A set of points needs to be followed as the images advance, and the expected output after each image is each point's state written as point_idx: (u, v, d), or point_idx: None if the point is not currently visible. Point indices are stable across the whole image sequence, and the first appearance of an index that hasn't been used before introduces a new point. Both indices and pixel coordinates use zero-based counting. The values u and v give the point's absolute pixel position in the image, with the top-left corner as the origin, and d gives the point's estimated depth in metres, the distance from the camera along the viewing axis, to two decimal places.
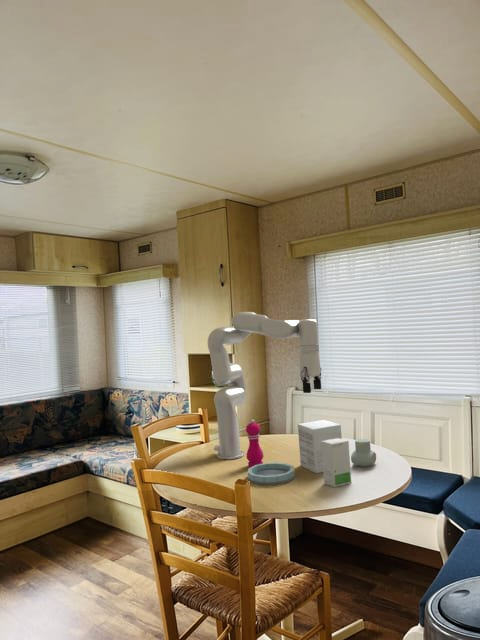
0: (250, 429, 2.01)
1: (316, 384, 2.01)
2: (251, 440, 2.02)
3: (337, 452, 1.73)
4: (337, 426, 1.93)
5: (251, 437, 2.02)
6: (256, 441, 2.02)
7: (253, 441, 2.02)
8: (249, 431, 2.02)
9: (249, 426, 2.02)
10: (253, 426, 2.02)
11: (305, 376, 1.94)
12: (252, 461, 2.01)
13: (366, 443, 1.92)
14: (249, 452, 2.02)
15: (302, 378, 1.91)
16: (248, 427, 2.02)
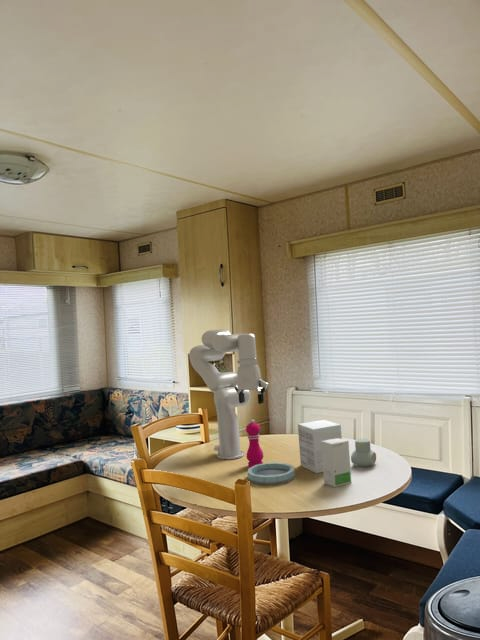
0: (250, 429, 2.01)
1: (242, 398, 2.06)
2: (251, 440, 2.02)
3: (337, 452, 1.73)
4: (337, 426, 1.93)
5: (251, 437, 2.02)
6: (256, 441, 2.02)
7: (253, 441, 2.02)
8: (249, 431, 2.02)
9: (249, 426, 2.02)
10: (253, 426, 2.02)
11: (259, 387, 2.01)
12: (252, 461, 2.01)
13: (366, 443, 1.92)
14: (249, 452, 2.02)
15: (265, 388, 2.00)
16: (248, 427, 2.02)
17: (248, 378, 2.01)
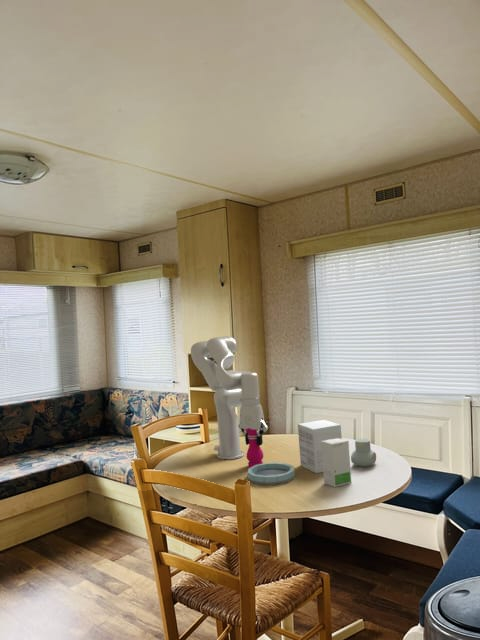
0: (250, 429, 2.01)
1: (248, 439, 2.05)
2: (251, 440, 2.02)
3: (337, 452, 1.73)
4: (337, 426, 1.93)
5: (251, 437, 2.02)
6: (256, 441, 2.02)
7: (253, 441, 2.02)
8: (249, 431, 2.02)
9: None
10: None
11: (259, 429, 2.02)
12: (252, 461, 2.01)
13: (366, 443, 1.92)
14: (249, 452, 2.02)
15: (264, 431, 2.01)
16: None
17: (251, 417, 2.01)
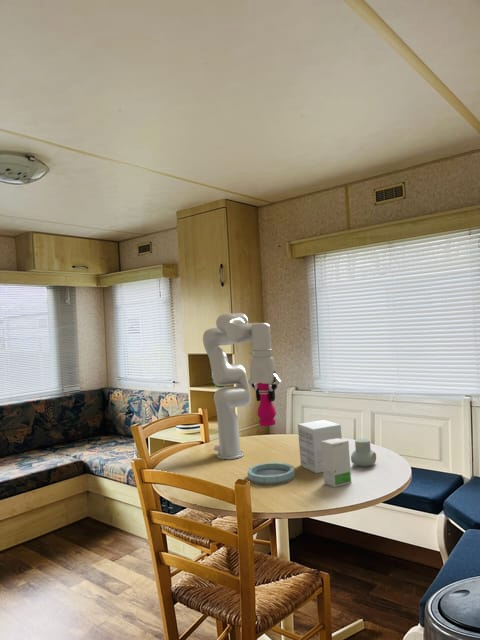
0: (262, 383, 1.85)
1: (259, 395, 1.89)
2: (263, 395, 1.86)
3: (337, 452, 1.73)
4: (337, 426, 1.93)
5: (263, 392, 1.86)
6: (268, 396, 1.86)
7: (265, 396, 1.86)
8: (260, 385, 1.86)
9: None
10: None
11: (271, 383, 1.86)
12: (264, 418, 1.85)
13: (366, 443, 1.92)
14: (260, 408, 1.86)
15: (277, 386, 1.85)
16: None
17: (262, 371, 1.85)
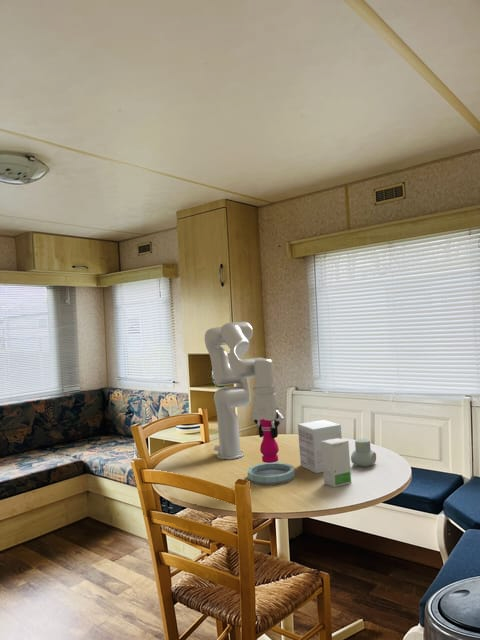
0: (264, 420, 1.85)
1: (262, 431, 1.89)
2: (265, 432, 1.86)
3: (337, 452, 1.73)
4: (337, 426, 1.93)
5: (265, 429, 1.86)
6: (271, 433, 1.86)
7: (267, 433, 1.86)
8: (263, 422, 1.85)
9: None
10: None
11: (274, 420, 1.86)
12: (266, 455, 1.85)
13: (366, 443, 1.92)
14: (263, 445, 1.86)
15: (279, 422, 1.85)
16: None
17: (265, 407, 1.85)
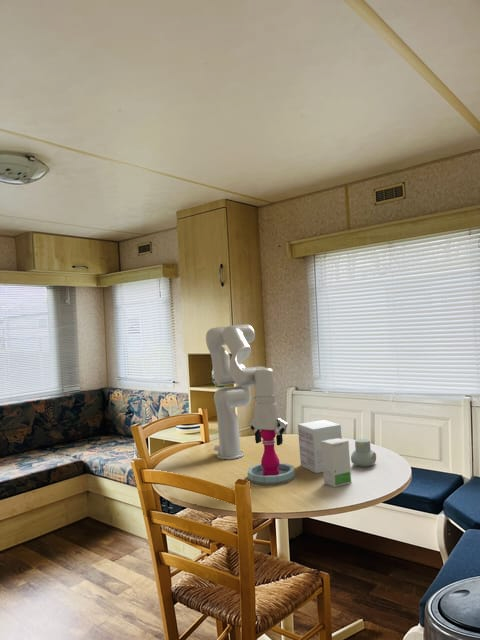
0: (265, 434, 1.85)
1: (258, 437, 1.90)
2: (266, 446, 1.86)
3: (337, 452, 1.73)
4: (337, 426, 1.93)
5: (266, 442, 1.86)
6: (272, 447, 1.86)
7: (268, 447, 1.86)
8: (264, 436, 1.86)
9: (264, 430, 1.86)
10: (268, 430, 1.86)
11: (277, 427, 1.85)
12: (267, 469, 1.85)
13: (366, 443, 1.92)
14: (264, 459, 1.86)
15: (284, 429, 1.83)
16: (263, 432, 1.86)
17: (266, 417, 1.85)
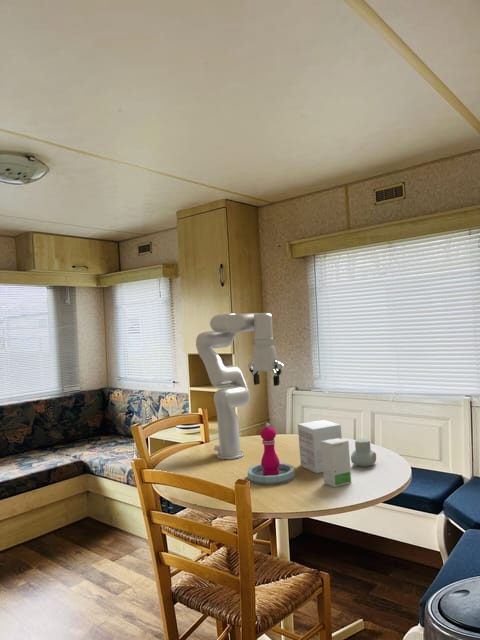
0: (265, 434, 1.85)
1: (257, 379, 2.00)
2: (266, 446, 1.86)
3: (337, 452, 1.73)
4: (337, 426, 1.93)
5: (266, 443, 1.86)
6: (272, 447, 1.86)
7: (268, 447, 1.86)
8: (264, 436, 1.86)
9: (264, 431, 1.86)
10: (268, 431, 1.86)
11: (274, 369, 1.94)
12: (267, 469, 1.85)
13: (366, 443, 1.92)
14: (264, 459, 1.86)
15: (281, 370, 1.92)
16: (263, 432, 1.86)
17: (264, 359, 1.94)
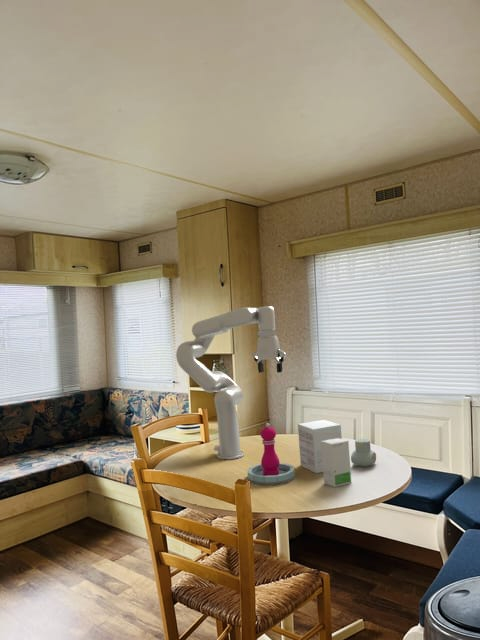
0: (265, 434, 1.85)
1: (261, 367, 2.17)
2: (266, 446, 1.86)
3: (337, 452, 1.73)
4: (337, 426, 1.93)
5: (266, 442, 1.86)
6: (272, 447, 1.86)
7: (268, 447, 1.86)
8: (264, 436, 1.86)
9: (264, 430, 1.86)
10: (269, 431, 1.86)
11: (277, 357, 2.12)
12: (267, 469, 1.85)
13: (366, 443, 1.92)
14: (264, 459, 1.86)
15: (284, 358, 2.10)
16: (263, 432, 1.86)
17: (267, 348, 2.12)
